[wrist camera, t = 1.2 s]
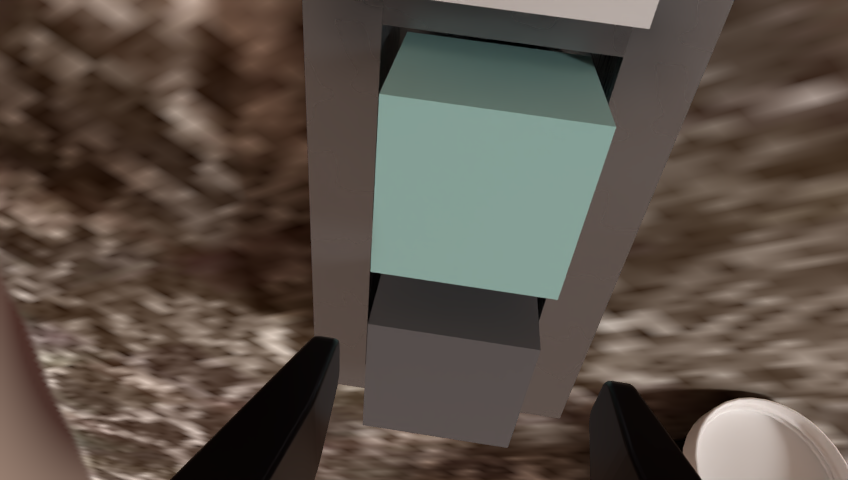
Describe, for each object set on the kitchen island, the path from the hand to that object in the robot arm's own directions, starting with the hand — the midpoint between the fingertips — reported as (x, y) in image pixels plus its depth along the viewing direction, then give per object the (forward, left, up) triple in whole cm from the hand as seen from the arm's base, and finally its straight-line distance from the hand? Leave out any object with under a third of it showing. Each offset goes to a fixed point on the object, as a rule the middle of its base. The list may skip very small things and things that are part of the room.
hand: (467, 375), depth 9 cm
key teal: (0, 0, -9) cm, 9 cm away
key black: (0, +7, -9) cm, 12 cm away
